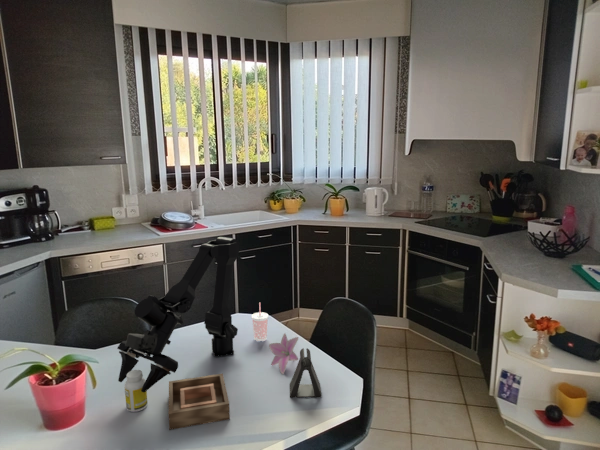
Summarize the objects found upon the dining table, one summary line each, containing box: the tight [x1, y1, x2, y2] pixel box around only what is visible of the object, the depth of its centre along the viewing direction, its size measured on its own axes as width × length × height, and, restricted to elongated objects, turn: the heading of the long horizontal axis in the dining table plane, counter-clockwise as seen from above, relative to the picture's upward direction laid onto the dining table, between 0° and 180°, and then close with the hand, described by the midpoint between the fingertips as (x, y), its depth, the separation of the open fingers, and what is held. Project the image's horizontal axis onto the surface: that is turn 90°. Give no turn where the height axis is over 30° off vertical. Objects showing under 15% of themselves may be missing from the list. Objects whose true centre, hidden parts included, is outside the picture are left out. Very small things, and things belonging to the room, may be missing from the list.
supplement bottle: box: [124, 369, 148, 413], centre depth 115 cm, size 5×5×10 cm
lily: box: [268, 332, 299, 375], centre depth 137 cm, size 12×12×10 cm
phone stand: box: [289, 347, 322, 399], centre depth 122 cm, size 9×6×12 cm, turn 91°
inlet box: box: [167, 373, 231, 431], centre depth 115 cm, size 15×15×4 cm
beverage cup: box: [251, 302, 269, 342], centre depth 154 cm, size 6×6×14 cm
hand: (130, 386), depth 114 cm, fingers open, 9 cm apart
